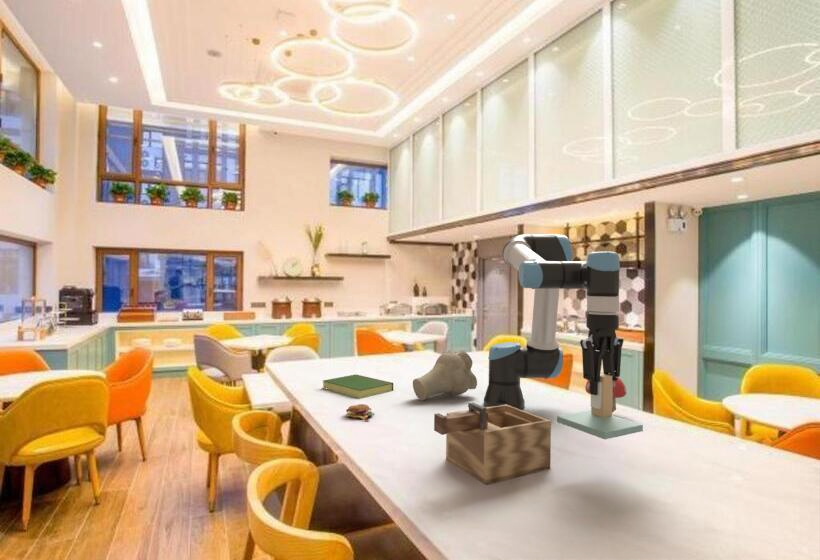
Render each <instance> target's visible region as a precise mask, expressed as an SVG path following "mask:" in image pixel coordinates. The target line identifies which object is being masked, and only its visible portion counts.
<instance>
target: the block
mask: <svg viewBox="0 0 820 560" xmlns="http://www.w3.org/2000/svg"><path fill="white" fill-rule="evenodd" d="M433 415H434V417H433V418H434V419H433V420H434V422H433V423H434V424H433V425H434V426H433V428H434V429H433V430H434V431H435V432H436V433H438V434H440V435H441V436H443V435H446V434H447V433H451V432H456V431H462V430H468V429H474V428H480V412H478V411H473V412H466V413H460V414H453V415H447V414H446V415H443V414H441V413H434V414H433ZM486 426H488V413H487V412H486Z"/></svg>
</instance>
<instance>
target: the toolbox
mask: <svg viewBox="0 0 820 560" xmlns="http://www.w3.org/2000/svg"><path fill="white" fill-rule="evenodd" d="M467 408H468V409H465V410H459V411H458V410H457V411H452V412H447V413H446V415H453V414H460V413H466V412H473V411H478V412H480V428H474V429H468V430H462V431H456V432H451V433H447V434H445V435H446V437H445V439H446V440H445V441H446V442H445V459H446V460H447V461H448V462H450V463H451V464H453V465H455V466H457V467H458V468H460V470H463V472H466V473H467V474H469V475H471V476H472V477H474V478H475V479H476V480H478V481H480V482H482V483H483V484H484V485H490V484H493V483H498V482H502V481H506V480H510V479H515V478H518V477H522V476H523V477H524V476H527V475H531V474H534V473H535V474H536V473H539V472H543V471H547V470H551V455H552V454H551V447H552V446H551V445H552V437H551V436H552V420H550V419H548V418H545V417H542V416H539V415H536V414H535V413H534V414H533V413H532V412H528V411H526V410H523V409H518V408H515V407H512V406H509V405H507V404H506V405H499V406H492V407H486V406H484V405H480V404H477V403H475V402H467ZM486 412H487V413H488V426H486Z"/></svg>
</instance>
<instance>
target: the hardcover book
mask: <svg viewBox="0 0 820 560" xmlns="http://www.w3.org/2000/svg"><path fill="white" fill-rule="evenodd" d="M322 384H323V385H322V386H323V387H322V388H323V389H325V388H327V389H326V390H328V389H330V390H329V391H332V390H333V392H336V391H337V392H336V393H339V392H340V394H342V395H343V394H344V395H346V396H351V397H355V398H358V399H362V398H366V397H370V396H375V395H379V393H380V394H383V392H384V393H388V392H392V391H394V382H390V381H387V380H382V379H378V378H373V377H370V376H364V375H361V374H356V373H355V374H351V375H344V376H339V377H334V378H329V379H324V380H322Z"/></svg>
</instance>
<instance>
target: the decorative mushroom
mask: <svg viewBox="0 0 820 560" xmlns="http://www.w3.org/2000/svg"><path fill="white" fill-rule="evenodd" d="M600 373H602V374H604V372H603V371H601V372H600ZM616 378H618V380H617V381H613V395H612V414H613V413H614V412H615V411H617V403H616V402H617V401H616V399H619V398H623V397H625V396H626V395H627V389H626V385H625V383H624V382H623V381H622V379H621V378H620V376H619V377H616ZM586 381H587V382H586V383H585V388H584V389H585V392H586V393H588V395H591V394H590V381H589V380H586Z"/></svg>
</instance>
